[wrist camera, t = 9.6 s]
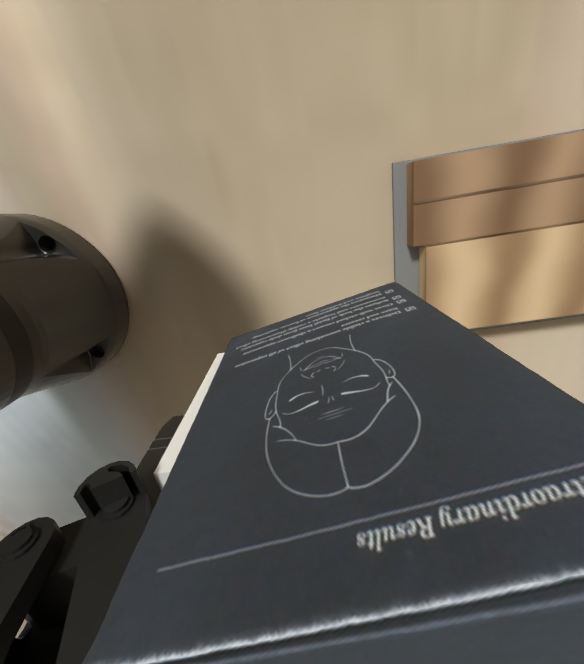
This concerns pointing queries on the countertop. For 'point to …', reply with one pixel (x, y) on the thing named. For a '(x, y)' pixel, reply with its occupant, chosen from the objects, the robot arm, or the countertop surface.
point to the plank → (506, 275)
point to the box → (364, 504)
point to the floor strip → (496, 190)
